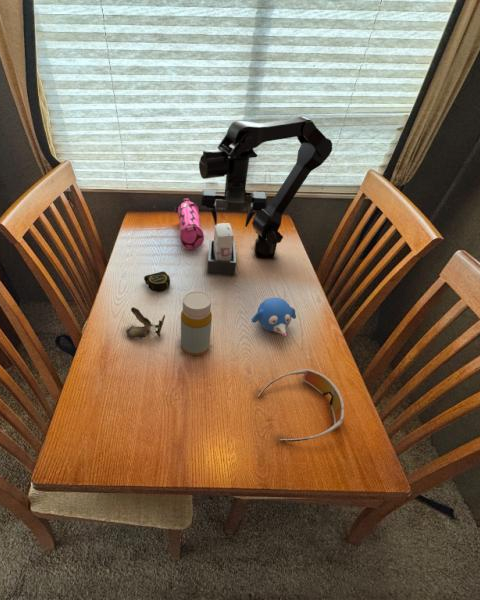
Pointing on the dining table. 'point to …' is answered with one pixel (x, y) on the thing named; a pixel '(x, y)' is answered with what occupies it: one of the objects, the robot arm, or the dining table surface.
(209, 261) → the holder
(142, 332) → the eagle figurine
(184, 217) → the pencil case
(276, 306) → the blue mole toy
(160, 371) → the dining table surface
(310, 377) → the sunglasses
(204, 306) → the bottle
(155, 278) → the tape measure
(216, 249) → the ink box
